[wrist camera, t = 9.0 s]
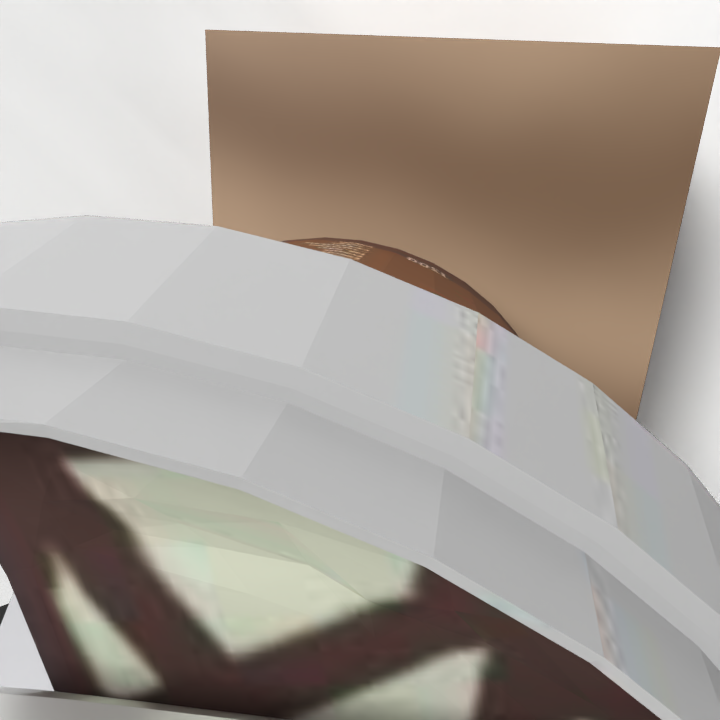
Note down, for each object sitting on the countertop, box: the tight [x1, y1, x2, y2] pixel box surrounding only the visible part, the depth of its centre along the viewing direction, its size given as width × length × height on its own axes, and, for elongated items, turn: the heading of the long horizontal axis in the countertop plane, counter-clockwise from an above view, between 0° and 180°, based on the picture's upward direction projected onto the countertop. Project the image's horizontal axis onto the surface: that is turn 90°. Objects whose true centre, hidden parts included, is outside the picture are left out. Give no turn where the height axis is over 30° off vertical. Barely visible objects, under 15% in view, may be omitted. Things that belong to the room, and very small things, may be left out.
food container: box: [0, 215, 720, 720], centre depth 9 cm, size 12×6×10 cm, turn 10°
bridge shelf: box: [205, 30, 720, 420], centre depth 17 cm, size 16×10×6 cm, turn 177°
